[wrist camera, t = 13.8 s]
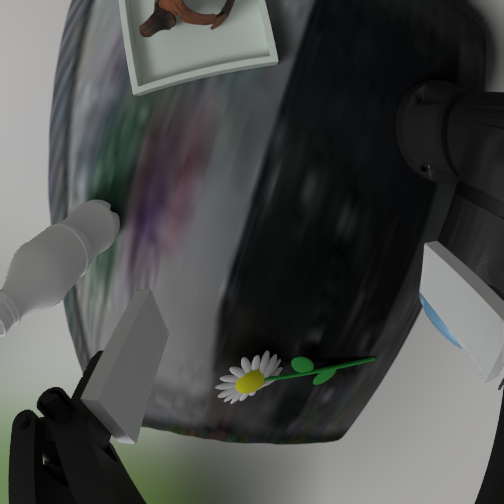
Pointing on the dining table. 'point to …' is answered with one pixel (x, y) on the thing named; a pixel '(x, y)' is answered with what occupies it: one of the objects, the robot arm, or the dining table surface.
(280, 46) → the dining table surface
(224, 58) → the tray
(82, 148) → the dining table surface
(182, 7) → the broken clay pot
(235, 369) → the decorative flower
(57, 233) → the water bottle
